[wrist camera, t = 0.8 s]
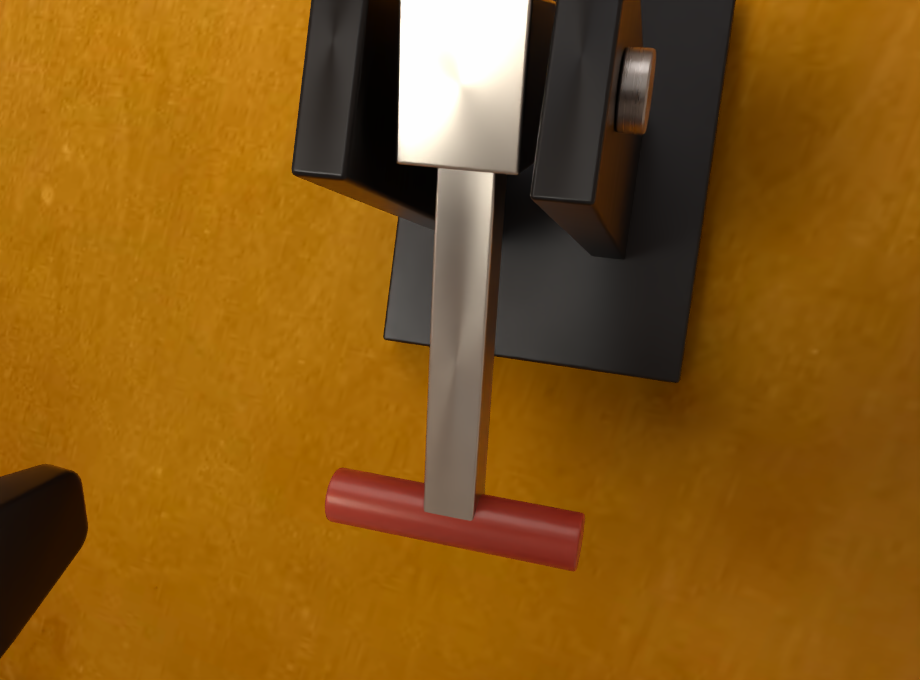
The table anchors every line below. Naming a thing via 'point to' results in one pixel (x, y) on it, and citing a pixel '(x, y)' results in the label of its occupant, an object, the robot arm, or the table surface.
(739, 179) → the table surface
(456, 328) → the lever
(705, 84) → the bracket
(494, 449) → the table surface
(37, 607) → the robot arm
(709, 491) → the table surface
